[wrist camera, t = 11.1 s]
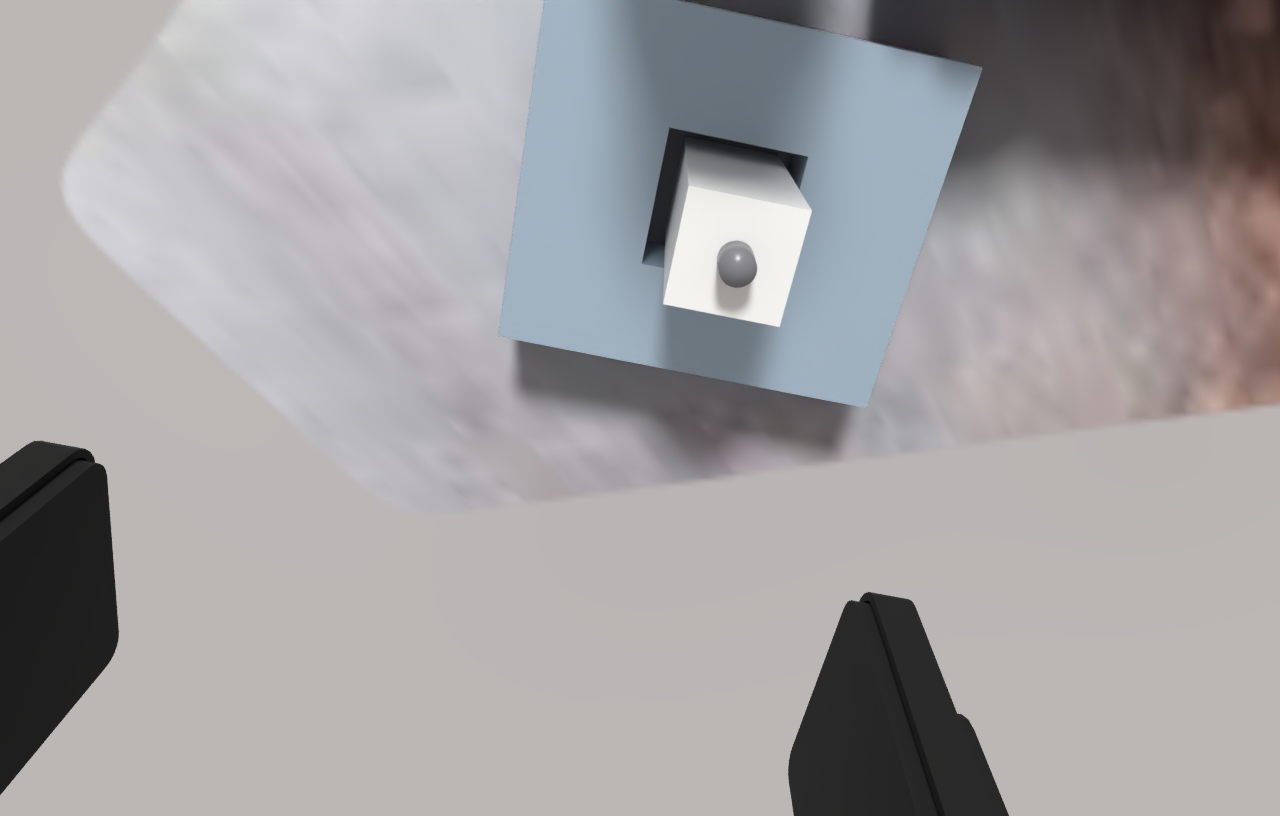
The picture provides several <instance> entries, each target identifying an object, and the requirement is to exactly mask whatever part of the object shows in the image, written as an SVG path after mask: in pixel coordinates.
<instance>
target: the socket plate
mask: <svg viewBox="0 0 1280 816" xmlns="http://www.w3.org/2000/svg"><path fill="white" fill-rule="evenodd" d="M982 69H983V67H979V66H976V65H972V64H969V63H965V62H961V61H958V60H954V59H950V58H946V57H942V56H937V55H933V54H928V53H923V52H919V51H914V50H910V49H905V48H901V47H896V46H891V45H887V44H882V43H878V42H873V41H868V40H864V39H859V38H855V37H850V36H846V35H841V34H836V33H832V32H827V31H823V30H818V29H813V28H809V27H804V26H800V25H795V24H791V23H786V22H781V21H777V20H772V19H768V18H763V17H758V16H754V15H749V14H745V13H740V12H736V11H731V10H726V9H722V8H717V7H713V6H708V5H703V4H699V3H694V2H690V1H685V0H544V3H543V11H542V18H541V25H540V33H539V40H538V47H537V55H536V62H535V69H534V77H533V84H532V91H531V99H530V106H529V113H528V121H527V128H526V135H525V143H524V150H523V157H522V165H521V172H520V179H519V187H518V194H517V201H516V209H515V216H514V223H513V231H512V238H511V245H510V253H509V260H508V267H507V275H506V282H505V289H504V297H503V304H502V311H501V319H500V326H499V333H498V336H499V337H504V338H509V339H514V340H519V341H524V342H530V343H535V344H540V345H545V346H550V347H555V348H560V349H565V350H571V351H576V352H581V353H586V354H591V355H596V356H601V357H606V358H612V359H617V360H622V361H627V362H632V363H637V364H642V365H647V366H652V367H658V368H663V369H668V370H673V371H678V372H683V373H688V374H693V375H699V376H704V377H709V378H714V379H719V380H724V381H729V382H734V383H740V384H745V385H750V386H755V387H760V388H765V389H770V390H775V391H781V392H786V393H791V394H796V395H801V396H806V397H811V398H816V399H822V400H827V401H832V402H837V403H842V404H847V405H852V406H857V407H863V408H866V407H867V404H868V401H869V399H870V396H871V393H872V390H873V387H874V384H875V381H876V378H877V375H878V372H879V369H880V366H881V364H882V361H883V358H884V355H885V352H886V349H887V346H888V343H889V340H890V337H891V334H892V331H893V329H894V326H895V323H896V320H897V317H898V314H899V311H900V308H901V305H902V302H903V299H904V296H905V294H906V291H907V288H908V285H909V282H910V279H911V276H912V273H913V270H914V267H915V264H916V261H917V259H918V256H919V253H920V250H921V247H922V244H923V241H924V238H925V235H926V232H927V229H928V226H929V224H930V221H931V218H932V215H933V212H934V209H935V206H936V203H937V200H938V197H939V194H940V191H941V189H942V186H943V183H944V180H945V177H946V174H947V171H948V168H949V165H950V162H951V159H952V156H953V154H954V151H955V148H956V145H957V142H958V139H959V136H960V133H961V130H962V127H963V124H964V121H965V119H966V116H967V113H968V110H969V107H970V104H971V101H972V98H973V95H974V92H975V89H976V86H977V84H978V81H979V78H980V75H981V72H982ZM685 136H687V137H692V138H697V139H702V140H706V141H711V142H716V143H721V144H726V145H731V146H735V147H740V148H745V149H750V150H755V151H759V152H764V153H769V154H774V155H778V156H779V157H780V159H781V161H782V162H783V164H784V165H785V167H786V169H787V170H788V172H789V174H790V175H791V177H792V179H793V180H794V182H795V184H796V185H797V187H798V188H799V190H800V192H801V193H802V195H803V197H804V198H805V200H806V202H807V203H808V205H809V207H810V208H811V210H812V213H811V216H810V220H809V224H808V227H807V231H806V234H805V238H804V241H803V245H802V249H801V252H800V256H799V259H798V263H797V266H796V270H795V274H794V277H793V281H792V284H791V288H790V291H789V295H788V299H787V302H786V306H785V309H784V313H783V316H782V320H781V324H780V327H777V326H772V325H767V324H762V323H756V322H751V321H746V320H741V319H736V318H731V317H726V316H721V315H716V314H711V313H706V312H700V311H695V310H690V309H685V308H680V307H675V306H670V305H665V304H663V289H664V256H665V228H666V224H667V219H668V214H669V209H670V205H671V200H672V195H673V190H674V185H675V181H676V176H677V171H678V166H679V162H680V157H681V152H682V147H683V143H684V138H685Z"/></svg>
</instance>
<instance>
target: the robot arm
mask: <svg viewBox="0 0 1280 816" xmlns="http://www.w3.org/2000/svg"><path fill="white" fill-rule="evenodd" d="M118 637H119V630H118V617H117V604H116V590H115V578H114V563H113V550H112V537H111V524H110V510H109V496H108V483H107V474H106V470H105V468H104V466H103V465H101V464H98V463H95V460H94V457H93V456H92V454H91V452H89V451H88V450H86V449H82V448H77V447H71V446H66V445H61V444H55V443H50V442H44V441H34V442H32V443H30V444H28V445H26V446H25V447H23V448H22V449H20V450H19V451H18V452H16V453H15V454H13V455H12V456H11V457H9V458H8V459H6V460H5V461H4V462H2V463H1V464H0V795H1V793H2V792H3V791H4V790H5V789H6V787H7V786H8V785H9V784H10V783H11V781H12V780H13V779H14V778H15V776H16V775H17V774H18V773H19V772H20V770H21V769H22V768H23V767H24V766H25V764H26V763H27V762H28V761H29V759H30V758H31V757H32V756H33V755H34V753H35V752H36V751H37V750H38V749H39V747H40V746H41V745H42V744H43V743H44V741H45V740H46V739H47V738H48V737H49V735H50V734H51V733H52V732H53V730H54V729H55V728H56V727H57V726H58V724H59V723H60V722H61V721H62V720H63V718H64V717H65V716H66V715H67V713H68V712H69V711H70V710H71V709H72V707H73V706H74V705H75V704H76V703H77V701H78V700H79V699H80V698H81V697H82V695H83V694H84V693H85V692H86V690H87V689H88V688H89V687H90V686H91V684H92V683H93V682H94V681H95V680H96V678H97V677H98V676H99V675H100V674H101V672H102V671H103V670H104V669H105V667H106V666H107V665H108V663H109V662H110V660H111V658H112V657H113V655H114V653H115V650H116V647H117V643H118ZM788 771H789V773H788V776H789V786H790V792H791V799H792V805H793V812H794V816H1009V815H1008V812H1007V810H1006V808H1005V805H1004V802H1003V800H1002V798H1001V795H1000V793H999V790H998V788H997V785H996V783H995V780H994V778H993V776H992V773H991V770H990V768H989V765H988V763H987V761H986V758H985V756H984V753H983V751H982V748H981V746H980V743H979V741H978V738H977V736H976V733H975V731H974V729H973V727H972V725H971V724H970V722H969V720H968V719H967V718H966V717H964V716H963V715H962V714H957V712H956V710H955V707H954V704H953V702H952V699H951V697H950V694H949V692H948V689H947V687H946V684H945V682H944V679H943V676H942V674H941V671H940V669H939V666H938V664H937V661H936V658H935V656H934V653H933V651H932V648H931V646H930V643H929V640H928V638H927V635H926V633H925V630H924V628H923V625H922V623H921V620H920V617H919V615H918V612H917V610H916V607H915V605H914V604H913V602H912V601H911V600H909V599H904V598H898V597H892V596H887V595H882V594H876V593H871V592H868V593H865V594H864V595H863V596H862V597H861V599H860V601H859V602H857V601H852V600H851V601H848V602H847V604H846V606H845V607H844V610H843V612H842V615H841V618H840V620H839V623H838V626H837V628H836V631H835V634H834V636H833V639H832V642H831V644H830V647H829V650H828V653H827V655H826V658H825V661H824V663H823V666H822V669H821V671H820V674H819V677H818V680H817V682H816V685H815V688H814V691H813V693H812V696H811V698H810V701H809V704H808V707H807V709H806V712H805V715H804V717H803V720H802V723H801V725H800V728H799V731H798V733H797V736H796V739H795V742H794V744H793V747H792V750H791V754H790V759H789V769H788Z"/></svg>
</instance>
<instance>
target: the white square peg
mask: <svg viewBox="0 0 1280 816" xmlns="http://www.w3.org/2000/svg"><path fill="white" fill-rule="evenodd" d="M811 213H812V210H811V208H810V207H809V205H808V203H807V202H806V200H805V198H804V197H803V195H802V193H801V192H800V190H799V188H798V187H797V185H796V184H795V182H794V180H793V179H792V177H791V175H790V174H789V172H788V170H787V169H786V167H785V165H784V164H783V162H782V161H781V159H780V157H779V156H778V155H774V154H769V153H764V152H759V151H755V150H750V149H745V148H740V147H735V146H731V145H726V144H721V143H716V142H711V141H706V140H702V139H697V138H692V137H687V136H685V138H684V143H683V147H682V152H681V157H680V162H679V166H678V171H677V176H676V181H675V185H674V190H673V195H672V200H671V205H670V209H669V214H668V219H667V224H666V228H665V256H664V289H663V304H665V305H670V306H675V307H680V308H685V309H690V310H695V311H700V312H706V313H711V314H716V315H721V316H726V317H731V318H736V319H741V320H746V321H751V322H756V323H762V324H767V325H772V326H777V327H780V324H781V320H782V316H783V313H784V309H785V306H786V302H787V299H788V295H789V291H790V288H791V284H792V281H793V277H794V274H795V270H796V266H797V263H798V259H799V256H800V252H801V249H802V245H803V241H804V238H805V234H806V231H807V227H808V224H809V220H810V216H811Z"/></svg>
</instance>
